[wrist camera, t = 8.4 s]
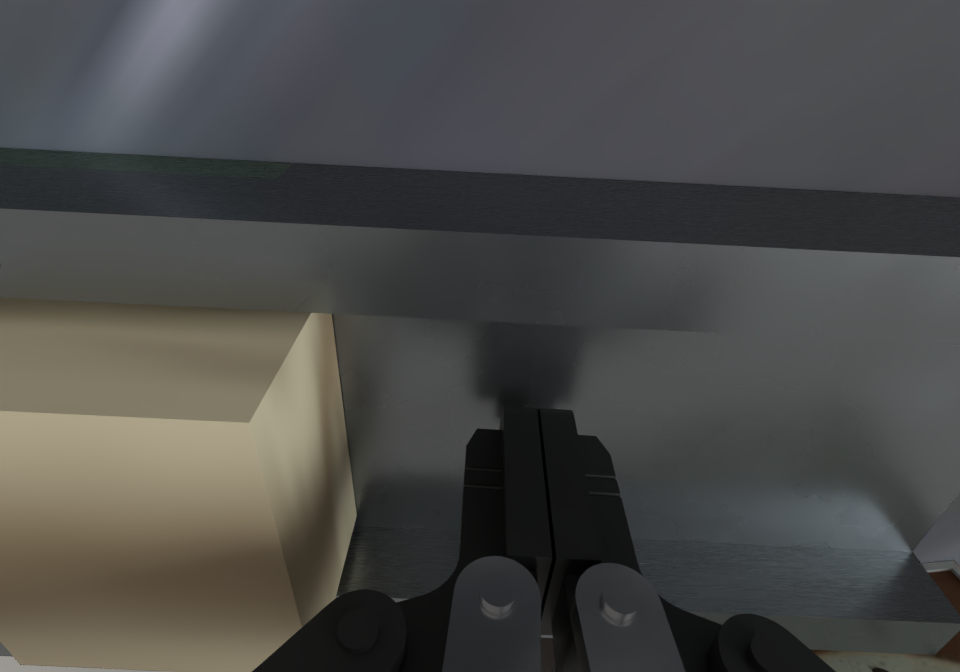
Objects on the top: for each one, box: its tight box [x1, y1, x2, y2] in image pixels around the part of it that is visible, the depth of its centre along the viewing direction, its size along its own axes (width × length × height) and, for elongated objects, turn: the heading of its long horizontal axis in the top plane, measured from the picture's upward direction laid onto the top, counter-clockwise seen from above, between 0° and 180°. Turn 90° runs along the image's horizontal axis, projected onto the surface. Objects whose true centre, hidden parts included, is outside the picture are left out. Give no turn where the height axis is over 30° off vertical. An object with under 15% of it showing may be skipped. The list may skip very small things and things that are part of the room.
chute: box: [0, 148, 960, 656], centre depth 12 cm, size 11×24×4 cm, turn 87°
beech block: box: [0, 297, 357, 672], centre depth 11 cm, size 7×6×4 cm
